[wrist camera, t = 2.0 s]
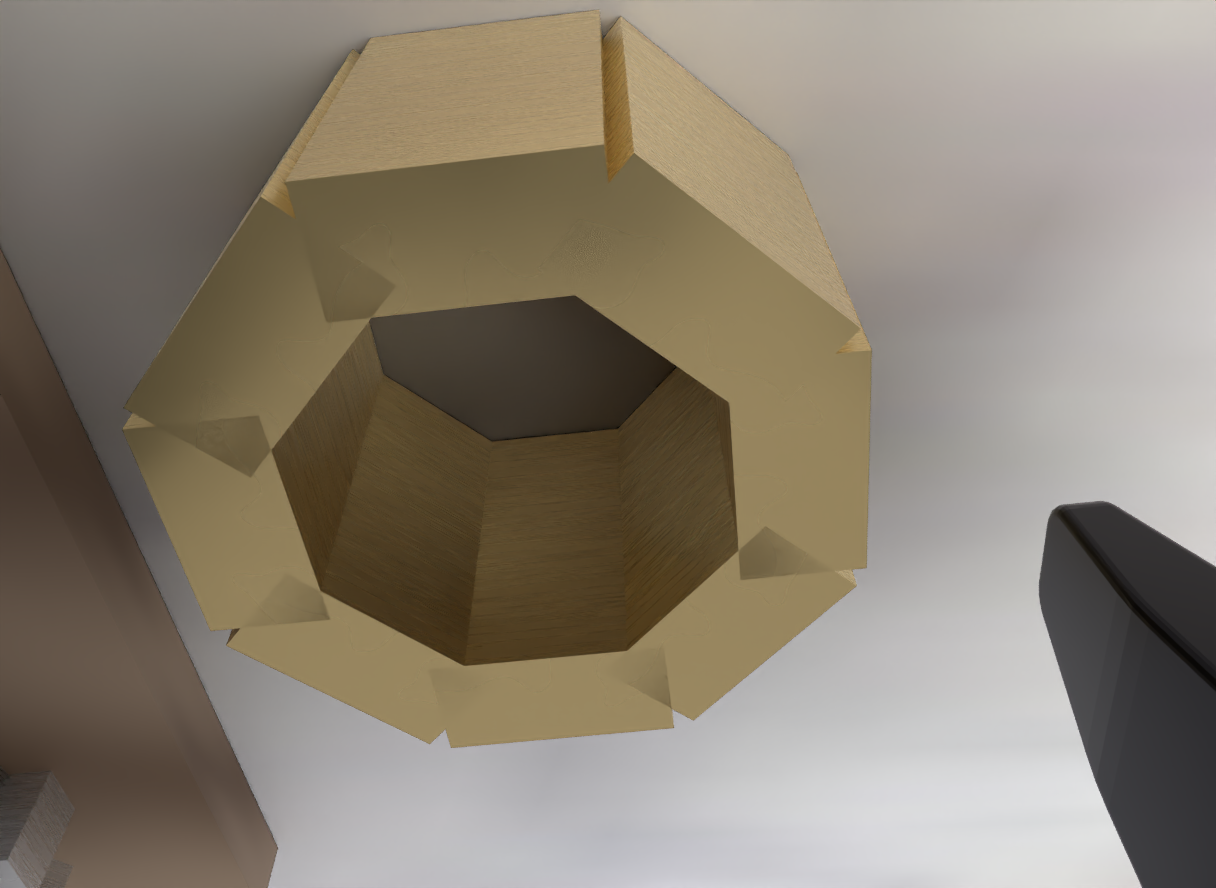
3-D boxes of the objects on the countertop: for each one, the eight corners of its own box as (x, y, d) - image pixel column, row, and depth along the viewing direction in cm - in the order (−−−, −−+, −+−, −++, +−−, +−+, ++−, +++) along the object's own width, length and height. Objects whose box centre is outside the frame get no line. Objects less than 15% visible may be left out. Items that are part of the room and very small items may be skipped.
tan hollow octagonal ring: (803, 484, 15) (863, 710, 12) (336, 530, 15) (269, 764, 12) (793, -15, 11) (877, 112, 8) (184, 61, 12) (27, 213, 8)
